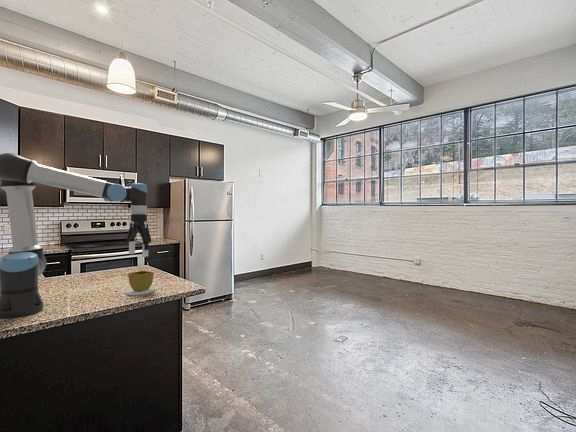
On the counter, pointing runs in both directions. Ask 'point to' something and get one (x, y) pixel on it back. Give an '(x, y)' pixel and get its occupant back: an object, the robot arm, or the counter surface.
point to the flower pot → (140, 280)
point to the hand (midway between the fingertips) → (138, 255)
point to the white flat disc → (131, 292)
